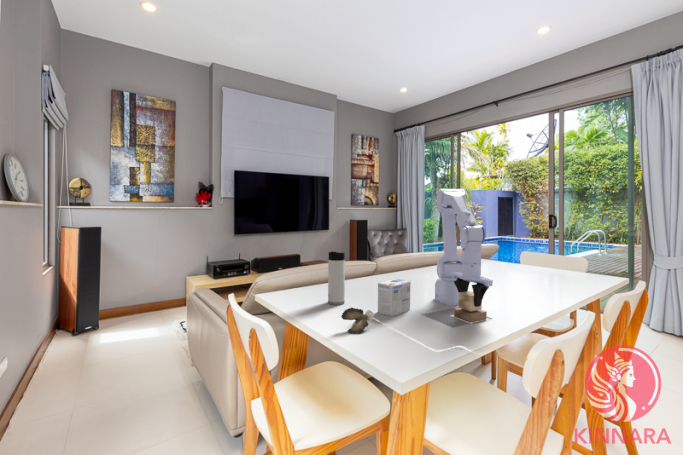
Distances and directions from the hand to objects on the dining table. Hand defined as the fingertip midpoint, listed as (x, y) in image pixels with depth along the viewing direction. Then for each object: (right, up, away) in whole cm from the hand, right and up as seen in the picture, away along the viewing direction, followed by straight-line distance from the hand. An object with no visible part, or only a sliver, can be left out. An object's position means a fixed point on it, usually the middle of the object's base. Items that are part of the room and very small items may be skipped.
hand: (470, 303), depth 106 cm
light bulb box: (-24, -5, +7) cm, 25 cm away
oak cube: (0, -2, 0) cm, 2 cm away
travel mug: (-44, -4, +18) cm, 48 cm away
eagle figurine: (-37, -6, -9) cm, 39 cm away
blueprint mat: (-4, -5, +2) cm, 7 cm away
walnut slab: (0, -5, 0) cm, 5 cm away
